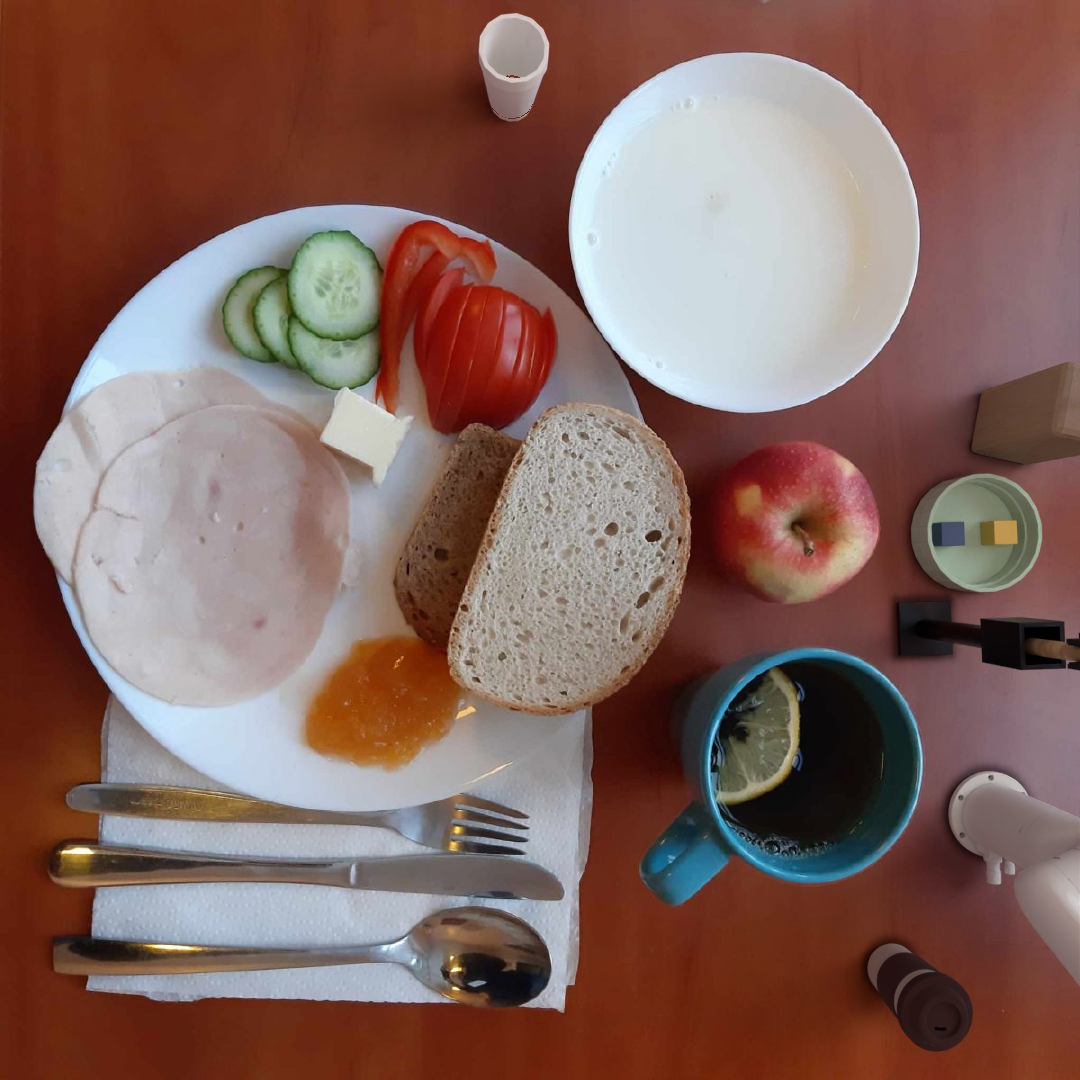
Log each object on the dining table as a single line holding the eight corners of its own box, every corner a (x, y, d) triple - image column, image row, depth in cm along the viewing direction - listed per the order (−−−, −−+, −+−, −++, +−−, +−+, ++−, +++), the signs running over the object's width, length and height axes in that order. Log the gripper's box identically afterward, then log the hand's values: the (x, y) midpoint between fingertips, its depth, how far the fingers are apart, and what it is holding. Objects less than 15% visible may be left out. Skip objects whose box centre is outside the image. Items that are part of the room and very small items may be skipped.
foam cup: (471, 119, 126) (469, 68, 113) (489, 61, 126) (490, 4, 114) (532, 140, 127) (538, 91, 114) (550, 81, 127) (558, 27, 114)
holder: (949, 653, 129) (1076, 678, 101) (898, 655, 128) (1011, 680, 100) (947, 600, 129) (1073, 610, 101) (896, 602, 128) (1008, 612, 101)
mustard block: (1003, 544, 129) (1017, 544, 125) (981, 545, 129) (994, 544, 125) (1002, 521, 129) (1016, 520, 125) (980, 521, 129) (994, 520, 125)
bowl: (1020, 589, 130) (1044, 590, 124) (911, 592, 128) (930, 593, 123) (1016, 476, 130) (1039, 472, 124) (906, 478, 129) (925, 474, 123)
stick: (1039, 654, 103) (1125, 667, 89) (1023, 654, 103) (1107, 668, 89) (1038, 637, 103) (1124, 648, 89) (1022, 638, 103) (1106, 648, 89)
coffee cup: (884, 919, 127) (938, 967, 112) (935, 960, 127) (995, 1013, 112) (844, 972, 126) (892, 1028, 111) (894, 1014, 126) (950, 1074, 112)
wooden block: (1029, 466, 130) (1128, 449, 110) (967, 453, 130) (1055, 433, 110) (1040, 403, 131) (1141, 374, 111) (979, 389, 130) (1068, 357, 110)
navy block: (952, 545, 128) (965, 545, 125) (929, 546, 128) (942, 546, 125) (951, 522, 128) (964, 521, 125) (928, 523, 128) (941, 522, 125)
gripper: (1177, 585, 76) (1043, 582, 95) (1186, 764, 76) (1049, 726, 94) (1256, 583, 77) (1107, 580, 95) (1265, 760, 76) (1114, 723, 95)
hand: (1079, 653), depth 95 cm, fingers closed on stick, 2 cm apart
